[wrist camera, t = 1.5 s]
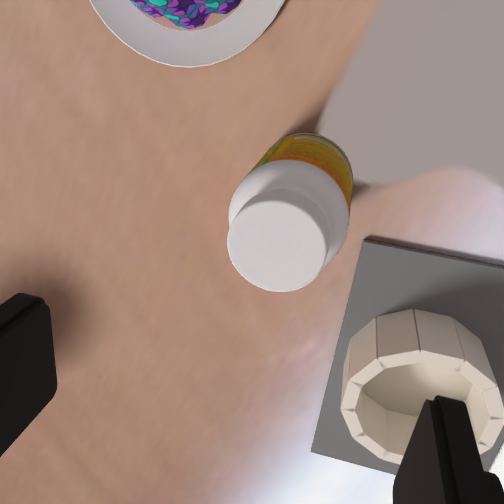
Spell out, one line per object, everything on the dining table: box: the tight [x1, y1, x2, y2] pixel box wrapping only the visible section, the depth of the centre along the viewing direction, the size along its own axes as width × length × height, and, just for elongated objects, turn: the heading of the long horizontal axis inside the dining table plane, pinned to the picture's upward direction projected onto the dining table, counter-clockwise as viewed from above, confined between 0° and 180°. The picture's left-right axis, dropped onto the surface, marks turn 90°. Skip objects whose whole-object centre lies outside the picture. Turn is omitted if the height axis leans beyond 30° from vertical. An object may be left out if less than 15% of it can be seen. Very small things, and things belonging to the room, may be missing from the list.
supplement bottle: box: [227, 133, 353, 292], centre depth 22 cm, size 5×5×10 cm
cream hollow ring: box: [341, 309, 504, 464], centre depth 27 cm, size 9×9×4 cm
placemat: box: [311, 239, 504, 475], centre depth 30 cm, size 18×12×1 cm, turn 173°
